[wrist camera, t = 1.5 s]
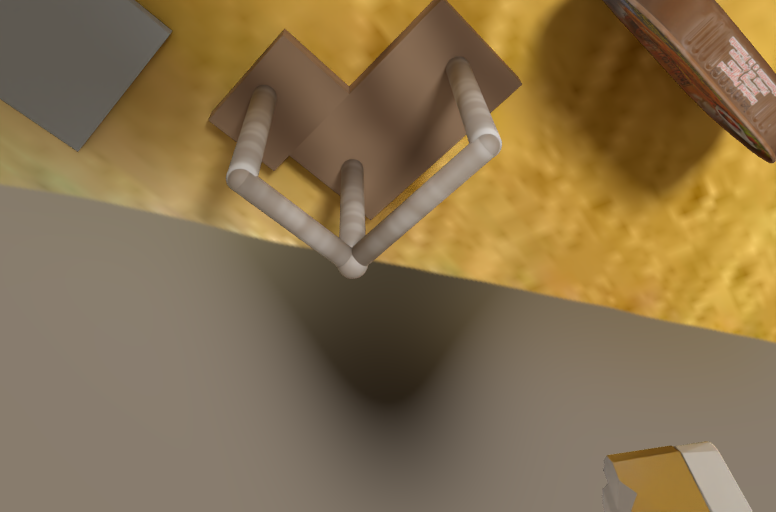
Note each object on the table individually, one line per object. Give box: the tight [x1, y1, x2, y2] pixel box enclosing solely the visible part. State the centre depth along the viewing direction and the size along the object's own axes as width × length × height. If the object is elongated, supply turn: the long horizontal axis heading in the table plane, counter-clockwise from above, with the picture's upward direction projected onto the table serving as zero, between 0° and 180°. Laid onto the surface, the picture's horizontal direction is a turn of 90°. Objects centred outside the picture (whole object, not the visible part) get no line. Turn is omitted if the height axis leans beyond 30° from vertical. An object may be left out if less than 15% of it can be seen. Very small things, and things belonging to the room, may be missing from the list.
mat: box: [0, 0, 172, 151], centre depth 36 cm, size 10×14×1 cm
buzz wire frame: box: [209, 0, 522, 279], centre depth 35 cm, size 14×12×12 cm
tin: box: [603, 0, 776, 163], centre depth 35 cm, size 15×3×8 cm, turn 49°
